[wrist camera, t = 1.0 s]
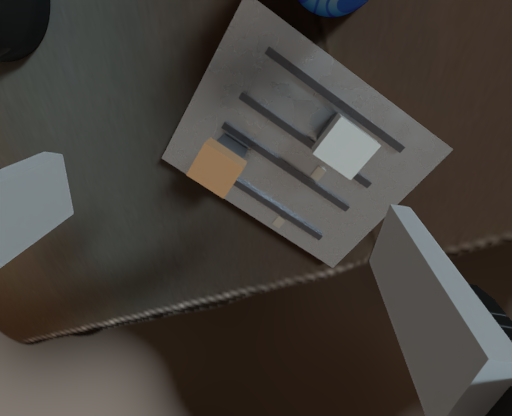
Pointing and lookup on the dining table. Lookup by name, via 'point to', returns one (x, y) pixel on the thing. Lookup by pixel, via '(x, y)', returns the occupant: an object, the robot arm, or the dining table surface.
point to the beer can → (332, 6)
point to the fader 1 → (218, 164)
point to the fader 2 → (344, 146)
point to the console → (300, 135)
